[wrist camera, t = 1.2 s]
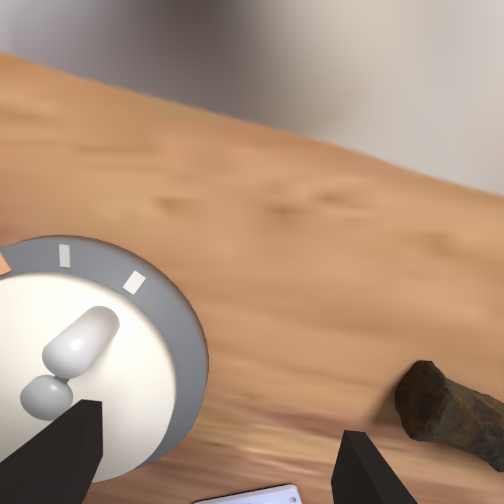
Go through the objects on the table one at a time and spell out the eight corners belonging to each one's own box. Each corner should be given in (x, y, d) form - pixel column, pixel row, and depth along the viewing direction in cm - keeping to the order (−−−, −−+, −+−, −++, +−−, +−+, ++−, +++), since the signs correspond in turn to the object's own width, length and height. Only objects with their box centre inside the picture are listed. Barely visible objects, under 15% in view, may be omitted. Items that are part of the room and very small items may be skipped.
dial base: (239, 428, 21) (238, 449, 19) (31, 472, 22) (14, 495, 21) (155, 201, 16) (144, 204, 15) (-95, 275, 18) (-128, 286, 16)
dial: (107, 492, 20) (66, 579, 16) (-81, 390, 18) (-184, 458, 14) (222, 361, 17) (210, 426, 13) (12, 221, 15) (-84, 243, 11)
